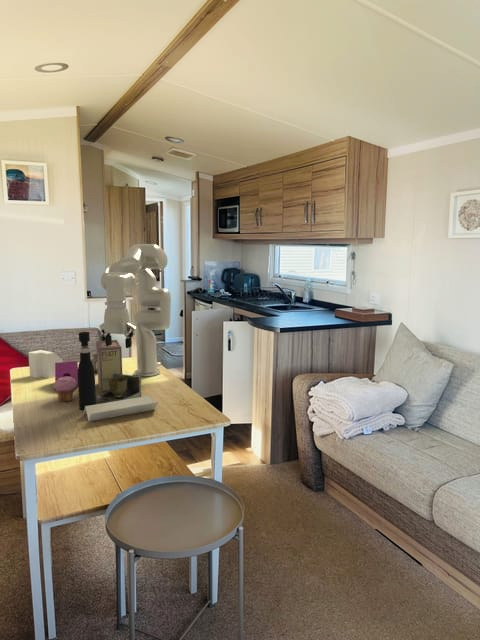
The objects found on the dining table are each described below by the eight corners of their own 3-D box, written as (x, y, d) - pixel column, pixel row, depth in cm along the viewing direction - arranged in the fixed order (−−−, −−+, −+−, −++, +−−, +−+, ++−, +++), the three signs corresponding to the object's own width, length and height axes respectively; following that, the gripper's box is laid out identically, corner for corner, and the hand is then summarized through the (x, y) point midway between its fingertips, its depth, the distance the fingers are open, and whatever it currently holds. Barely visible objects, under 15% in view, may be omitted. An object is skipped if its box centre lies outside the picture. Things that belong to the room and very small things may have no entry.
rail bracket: (115, 393, 206) (114, 373, 205) (141, 397, 202) (140, 376, 200) (95, 402, 194) (94, 381, 193) (122, 406, 190) (121, 384, 188)
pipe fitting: (111, 371, 242) (108, 351, 241) (95, 374, 238) (92, 354, 237) (104, 368, 252) (101, 349, 251) (89, 372, 248) (86, 352, 247)
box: (98, 384, 221) (96, 341, 218) (118, 382, 224) (116, 339, 221) (101, 394, 206) (99, 348, 203) (123, 392, 209) (121, 346, 206)
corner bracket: (30, 376, 235) (28, 352, 233) (50, 371, 244) (49, 348, 242) (43, 379, 229) (41, 355, 227) (63, 374, 238) (62, 350, 236)
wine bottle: (80, 412, 184) (76, 334, 179) (78, 407, 189) (73, 332, 185) (98, 409, 187) (94, 333, 182) (94, 404, 192) (91, 330, 188)
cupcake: (52, 404, 193) (51, 380, 192) (57, 397, 202) (56, 374, 200) (75, 403, 194) (74, 379, 193) (79, 396, 203) (78, 373, 201)
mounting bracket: (79, 402, 215) (78, 375, 229) (79, 387, 210) (77, 361, 224) (56, 404, 211) (56, 377, 226) (55, 389, 207) (55, 362, 221)
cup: (131, 397, 198) (130, 378, 197) (116, 401, 193) (115, 382, 192) (121, 393, 203) (120, 375, 202) (106, 397, 198) (105, 378, 197)
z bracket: (86, 429, 178) (83, 414, 182) (151, 417, 191) (146, 403, 194) (90, 413, 170) (87, 398, 173) (158, 402, 182) (153, 387, 185)
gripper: (92, 305, 195) (95, 346, 198) (129, 307, 188) (131, 350, 191) (104, 302, 201) (106, 342, 205) (139, 305, 195) (141, 346, 198)
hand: (118, 346), depth 198 cm, fingers open, 9 cm apart
